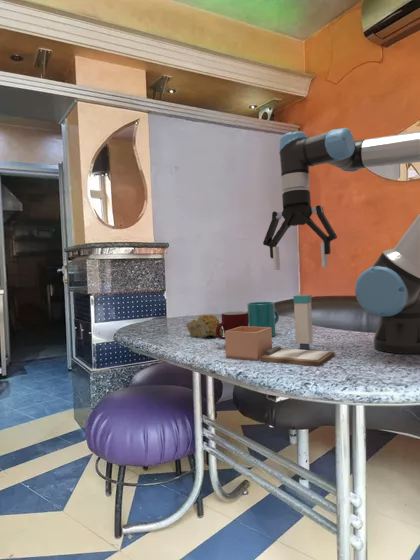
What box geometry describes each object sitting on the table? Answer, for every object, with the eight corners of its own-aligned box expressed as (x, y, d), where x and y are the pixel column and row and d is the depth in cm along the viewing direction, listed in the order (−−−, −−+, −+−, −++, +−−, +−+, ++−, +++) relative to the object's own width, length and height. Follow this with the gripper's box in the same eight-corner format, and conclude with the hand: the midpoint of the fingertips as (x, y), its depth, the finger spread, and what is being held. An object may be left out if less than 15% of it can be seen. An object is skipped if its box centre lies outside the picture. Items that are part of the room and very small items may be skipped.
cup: (287, 334, 139) (286, 301, 138) (260, 339, 132) (258, 304, 132) (270, 331, 146) (268, 300, 146) (243, 336, 140) (241, 303, 140)
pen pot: (272, 353, 111) (271, 327, 110) (257, 360, 103) (256, 332, 103) (242, 350, 116) (241, 326, 115) (225, 357, 108) (224, 331, 108)
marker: (313, 348, 114) (311, 294, 114) (309, 351, 111) (306, 296, 110) (300, 347, 116) (298, 295, 116) (295, 350, 113) (293, 296, 112)
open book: (334, 355, 104) (333, 347, 104) (319, 366, 94) (319, 357, 94) (279, 351, 112) (278, 344, 112) (260, 361, 102) (259, 353, 102)
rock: (196, 350, 143) (182, 325, 145) (211, 341, 150) (198, 317, 151) (216, 338, 136) (201, 312, 137) (232, 330, 142) (217, 305, 143)
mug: (226, 351, 116) (225, 316, 116) (210, 347, 123) (209, 314, 122) (255, 345, 122) (253, 312, 121) (238, 342, 128) (237, 310, 128)
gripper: (345, 186, 109) (350, 265, 109) (260, 199, 122) (264, 270, 123) (338, 181, 103) (343, 266, 103) (249, 196, 116) (253, 271, 116)
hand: (300, 268), depth 113 cm, fingers open, 13 cm apart
